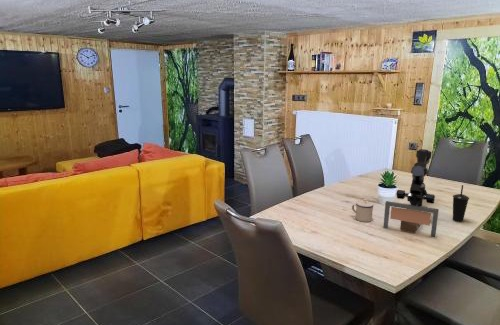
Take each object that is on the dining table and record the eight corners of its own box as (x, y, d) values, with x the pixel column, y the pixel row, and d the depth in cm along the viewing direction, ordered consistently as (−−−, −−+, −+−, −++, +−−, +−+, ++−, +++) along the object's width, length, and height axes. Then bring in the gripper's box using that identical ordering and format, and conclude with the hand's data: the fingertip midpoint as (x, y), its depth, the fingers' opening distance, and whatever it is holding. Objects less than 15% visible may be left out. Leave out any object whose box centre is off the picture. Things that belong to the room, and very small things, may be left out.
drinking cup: (460, 224, 186) (465, 188, 182) (446, 219, 193) (451, 184, 188) (469, 221, 190) (474, 186, 185) (455, 216, 196) (459, 182, 192)
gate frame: (384, 226, 184) (386, 201, 181) (435, 235, 172) (438, 209, 169) (383, 227, 182) (385, 202, 179) (435, 237, 170) (438, 210, 167)
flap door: (390, 218, 180) (391, 206, 180) (429, 225, 171) (431, 213, 171) (390, 218, 179) (391, 207, 178) (429, 225, 170) (430, 213, 170)
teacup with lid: (375, 219, 194) (377, 199, 191) (367, 223, 188) (368, 203, 185) (355, 213, 202) (357, 194, 200) (347, 217, 196) (348, 197, 194)
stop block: (405, 221, 191) (407, 207, 189) (419, 224, 187) (421, 209, 185) (400, 230, 180) (401, 215, 178) (414, 233, 176) (416, 218, 174)
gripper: (398, 175, 193) (393, 200, 186) (436, 180, 184) (433, 206, 177) (399, 185, 201) (394, 209, 195) (435, 190, 192) (432, 216, 186)
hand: (412, 210), depth 188 cm, fingers closed, pressing on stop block
